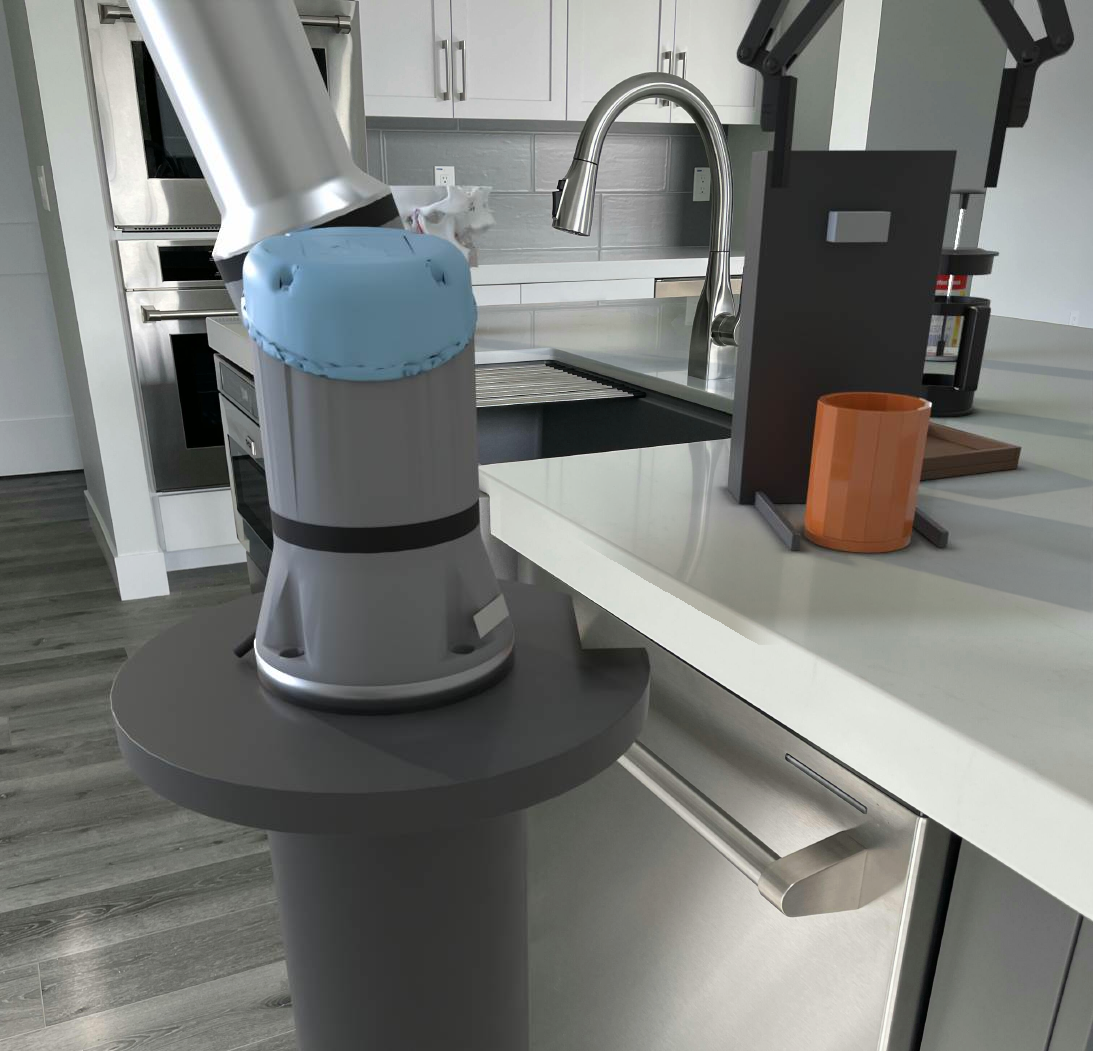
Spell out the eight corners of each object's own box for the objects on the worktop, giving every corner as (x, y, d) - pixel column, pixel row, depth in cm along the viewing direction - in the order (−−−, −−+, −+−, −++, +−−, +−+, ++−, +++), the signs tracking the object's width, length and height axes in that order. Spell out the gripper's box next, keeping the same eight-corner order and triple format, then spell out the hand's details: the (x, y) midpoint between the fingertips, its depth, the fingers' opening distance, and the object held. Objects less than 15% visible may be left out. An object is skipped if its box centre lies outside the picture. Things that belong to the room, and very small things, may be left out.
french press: (870, 403, 129) (898, 188, 118) (936, 398, 131) (970, 187, 121) (929, 422, 119) (966, 189, 108) (1000, 416, 121) (1043, 189, 111)
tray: (903, 482, 96) (906, 460, 95) (815, 451, 106) (817, 431, 106) (1017, 468, 100) (1021, 446, 99) (921, 440, 111) (925, 420, 110)
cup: (819, 554, 78) (836, 412, 73) (792, 523, 85) (806, 392, 80) (925, 552, 78) (949, 411, 74) (889, 521, 85) (909, 391, 81)
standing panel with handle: (774, 550, 79) (814, 146, 67) (726, 488, 94) (752, 151, 82) (962, 547, 79) (1035, 145, 67) (884, 486, 95) (932, 151, 83)
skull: (344, 340, 179) (331, 186, 168) (369, 326, 196) (359, 185, 185) (493, 341, 177) (490, 186, 167) (506, 327, 194) (503, 184, 183)
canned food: (939, 352, 165) (952, 267, 160) (963, 360, 158) (978, 271, 153) (890, 353, 164) (902, 268, 159) (913, 361, 157) (926, 272, 152)
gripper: (1166, -232, 61) (1082, 186, 71) (732, -184, 69) (710, 186, 79) (1185, -278, 55) (1090, 188, 65) (704, -219, 63) (685, 188, 72)
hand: (881, 188), depth 72 cm, fingers open, 13 cm apart
